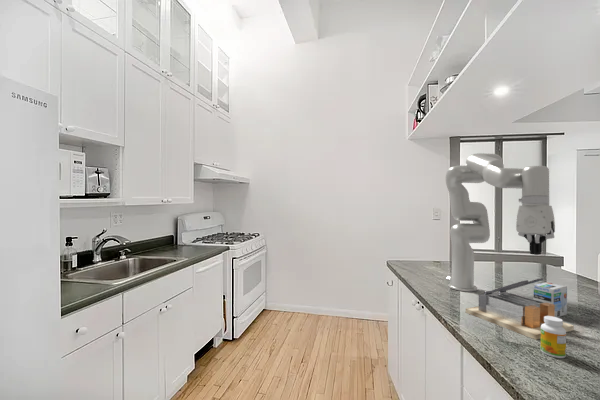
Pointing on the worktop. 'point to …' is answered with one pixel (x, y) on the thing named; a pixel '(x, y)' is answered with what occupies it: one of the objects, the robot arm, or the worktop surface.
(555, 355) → the supplement bottle
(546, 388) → the worktop surface
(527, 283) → the strap
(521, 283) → the strap
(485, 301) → the grey and orange fixture
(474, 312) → the board
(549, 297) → the light bulb box
